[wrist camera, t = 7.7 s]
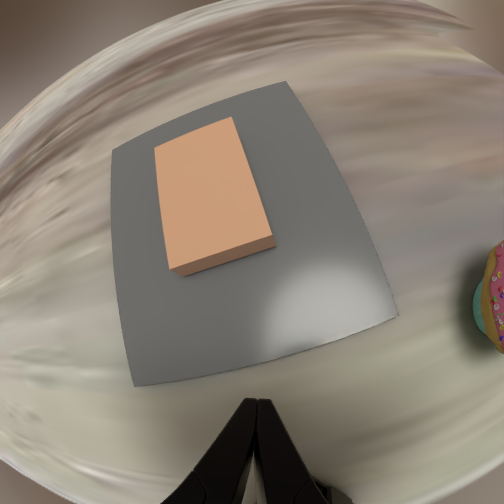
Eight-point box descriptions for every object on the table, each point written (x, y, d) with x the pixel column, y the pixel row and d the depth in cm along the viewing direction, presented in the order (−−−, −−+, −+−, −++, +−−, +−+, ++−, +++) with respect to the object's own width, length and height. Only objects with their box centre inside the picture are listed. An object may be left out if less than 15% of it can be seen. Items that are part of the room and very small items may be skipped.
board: (395, 316, 17) (399, 315, 16) (139, 385, 19) (134, 386, 18) (286, 86, 25) (285, 81, 24) (115, 153, 27) (112, 150, 26)
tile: (272, 234, 17) (231, 116, 20) (169, 269, 18) (154, 148, 21) (276, 247, 19) (238, 135, 23) (184, 277, 20) (166, 163, 24)
